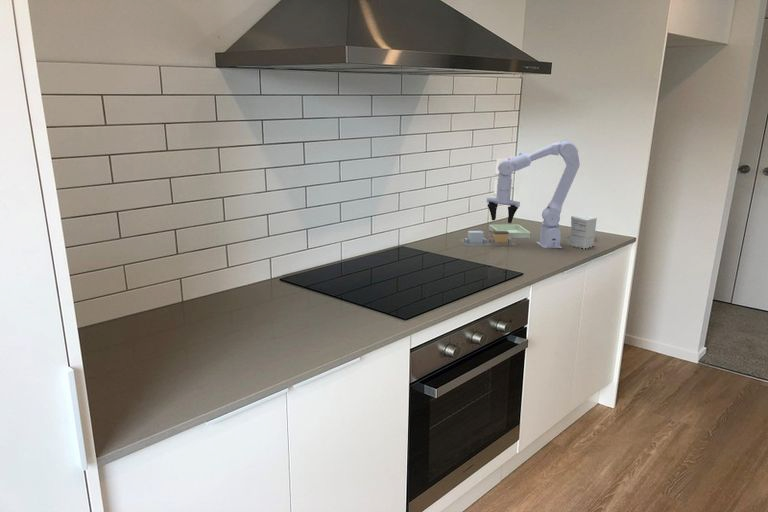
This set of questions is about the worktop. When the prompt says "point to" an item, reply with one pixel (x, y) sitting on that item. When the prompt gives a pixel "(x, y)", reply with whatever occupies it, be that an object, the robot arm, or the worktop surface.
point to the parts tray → (511, 230)
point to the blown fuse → (500, 236)
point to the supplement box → (583, 231)
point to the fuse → (475, 236)
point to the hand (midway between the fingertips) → (501, 221)
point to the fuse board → (487, 242)
